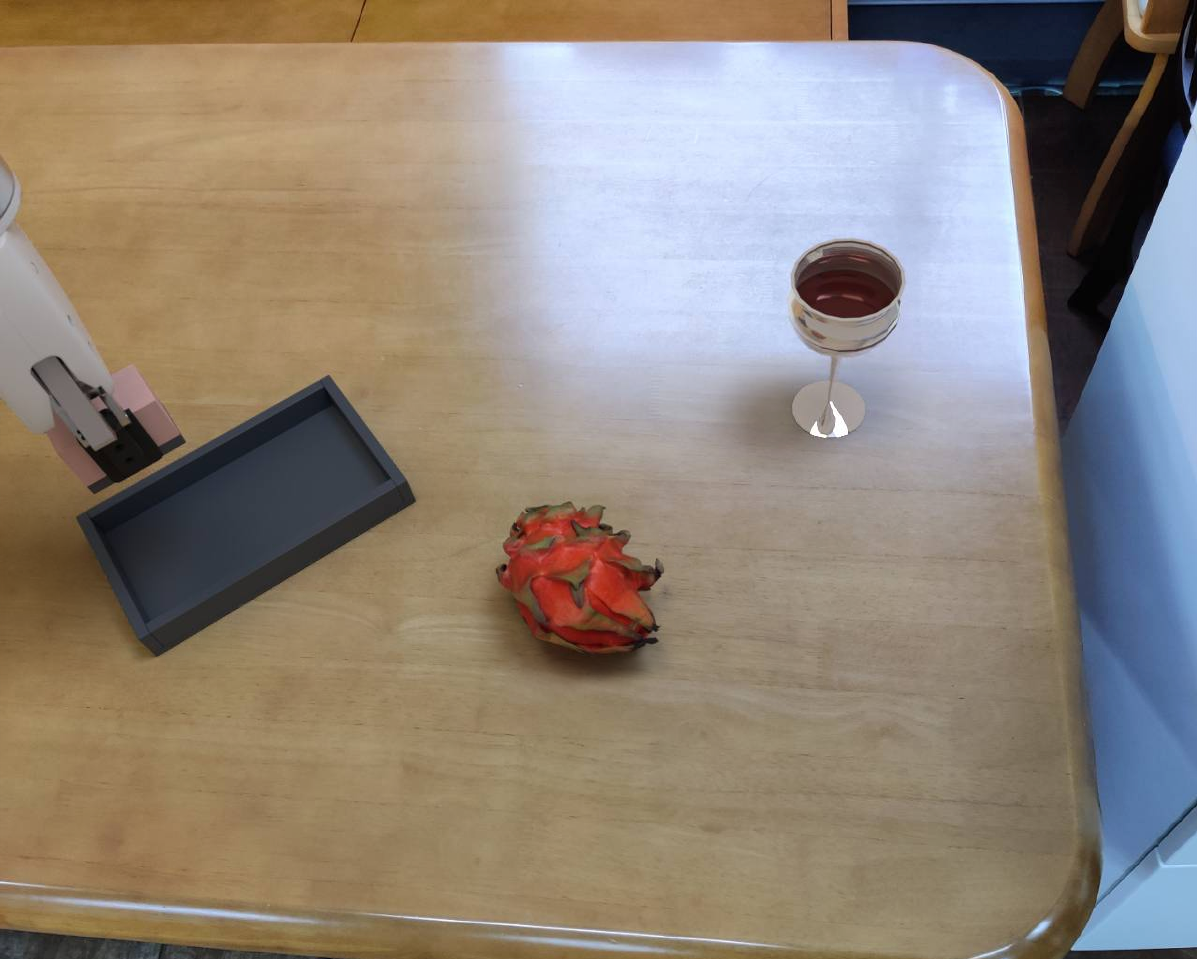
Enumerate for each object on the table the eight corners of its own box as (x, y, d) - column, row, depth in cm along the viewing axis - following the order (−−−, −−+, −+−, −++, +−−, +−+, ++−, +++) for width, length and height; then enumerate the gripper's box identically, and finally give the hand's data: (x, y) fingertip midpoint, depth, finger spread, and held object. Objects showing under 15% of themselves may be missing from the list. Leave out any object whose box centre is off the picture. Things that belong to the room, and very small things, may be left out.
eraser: (94, 495, 61) (56, 454, 58) (73, 457, 63) (35, 414, 59) (187, 443, 62) (155, 399, 59) (164, 406, 64) (132, 362, 61)
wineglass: (760, 393, 74) (768, 263, 63) (846, 356, 74) (867, 222, 64) (809, 463, 70) (826, 338, 60) (898, 424, 71) (929, 294, 61)
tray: (156, 657, 68) (138, 639, 66) (93, 536, 73) (74, 516, 71) (416, 501, 72) (407, 480, 70) (339, 396, 77) (328, 374, 75)
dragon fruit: (528, 552, 71) (655, 674, 68) (441, 588, 64) (576, 725, 61) (581, 455, 66) (721, 582, 63) (492, 484, 59) (643, 627, 56)
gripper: (-207, 134, 49) (21, 391, 65) (-113, 344, 42) (118, 574, 58) (-55, 64, 51) (131, 332, 67) (61, 254, 43) (239, 503, 59)
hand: (123, 442), depth 62 cm, fingers closed on eraser, 3 cm apart
